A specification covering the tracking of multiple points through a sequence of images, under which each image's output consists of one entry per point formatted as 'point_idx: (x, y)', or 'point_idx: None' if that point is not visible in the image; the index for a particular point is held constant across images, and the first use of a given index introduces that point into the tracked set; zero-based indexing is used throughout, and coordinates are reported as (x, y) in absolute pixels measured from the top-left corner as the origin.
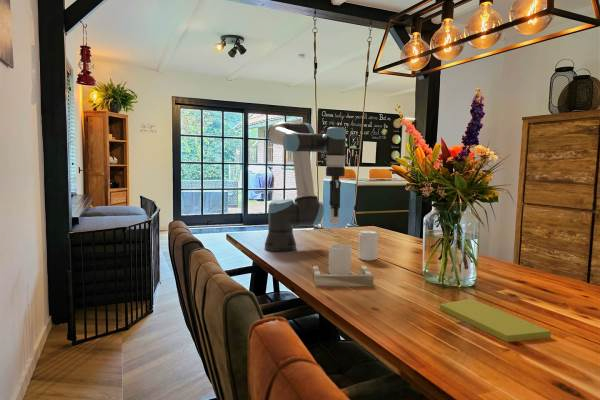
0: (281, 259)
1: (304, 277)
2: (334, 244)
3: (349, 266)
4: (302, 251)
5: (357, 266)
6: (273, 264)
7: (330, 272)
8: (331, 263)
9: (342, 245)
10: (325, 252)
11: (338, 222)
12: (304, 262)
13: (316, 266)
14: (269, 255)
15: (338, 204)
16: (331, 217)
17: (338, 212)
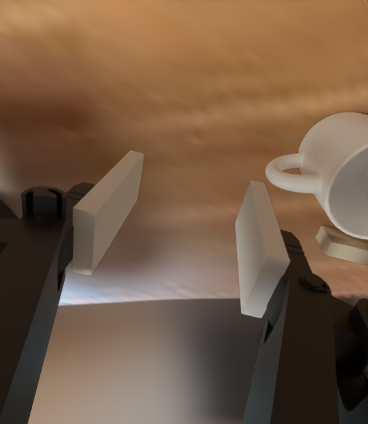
0: (120, 264)
1: (326, 262)
2: (327, 200)
3: None
4: (13, 176)
5: (276, 33)
6: (172, 294)
7: (340, 190)
8: (359, 204)
9: (345, 160)
10: (22, 90)
11: (265, 193)
12: (167, 215)
13: (337, 247)
14: (71, 280)
15: (365, 338)
16: (129, 208)
17: (279, 240)
